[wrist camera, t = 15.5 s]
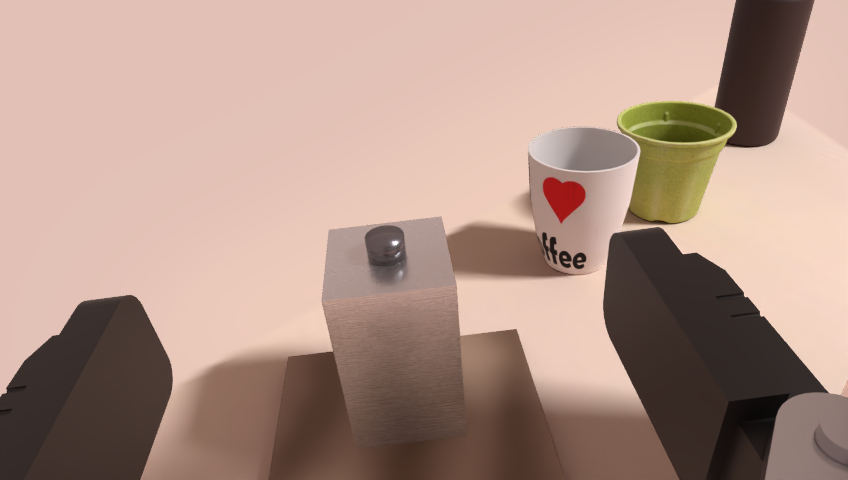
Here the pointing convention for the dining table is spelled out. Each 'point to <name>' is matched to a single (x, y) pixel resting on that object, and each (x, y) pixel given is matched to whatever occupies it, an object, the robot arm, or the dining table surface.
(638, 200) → the plant pot
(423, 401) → the steel cover
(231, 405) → the dining table surface
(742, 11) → the bottle
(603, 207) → the cup
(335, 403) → the walnut board
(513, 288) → the dining table surface
